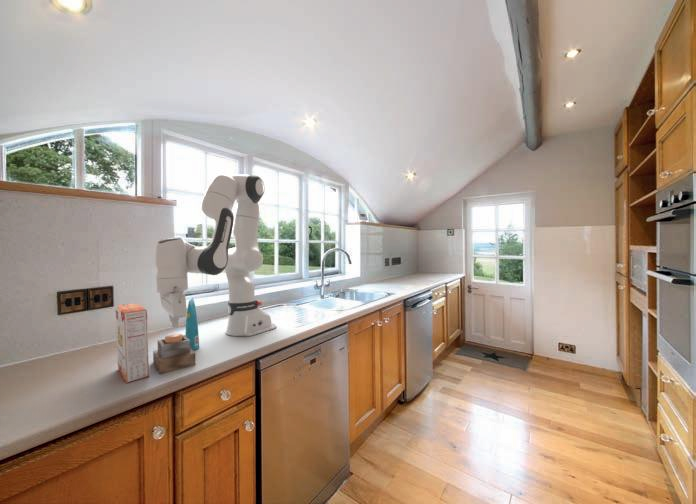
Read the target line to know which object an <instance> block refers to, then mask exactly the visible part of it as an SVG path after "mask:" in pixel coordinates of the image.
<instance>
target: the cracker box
mask: <svg viewBox="0 0 696 504" xmlns="http://www.w3.org/2000/svg"><path fill="white" fill-rule="evenodd" d="M115 321H116V323H115V324H116V344H117V345H116V348H117V352H116V353H117V369H118V371H119V373H120V374H121V376H122V377H123V379H124V381H125V383H126V384H127V383H133V382H135V381H138V380H141V379H145V378H148V377H149V376H150V371H149V370H150V365H149V361H150V360H149V337H148V335H149V333H148V332H149V331H148V310H147V309H146V308H145V307H143V306H142V305H140V304H139V303H126V304H120V305H119V304H118V305H116V306H115Z"/></svg>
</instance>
